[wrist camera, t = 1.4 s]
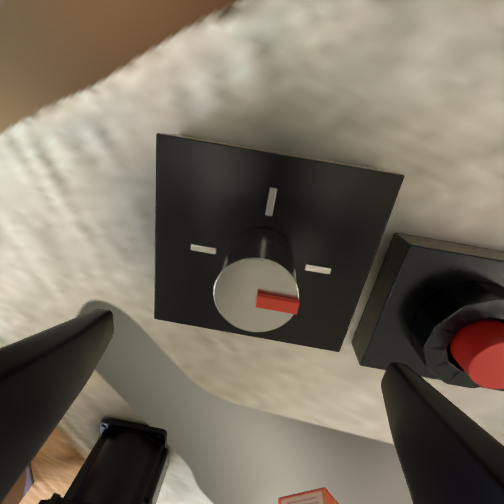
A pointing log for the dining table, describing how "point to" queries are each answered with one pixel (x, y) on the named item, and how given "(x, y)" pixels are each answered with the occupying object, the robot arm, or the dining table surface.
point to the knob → (257, 282)
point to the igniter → (481, 352)
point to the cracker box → (309, 498)
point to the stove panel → (271, 217)
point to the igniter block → (429, 305)
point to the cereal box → (20, 487)
